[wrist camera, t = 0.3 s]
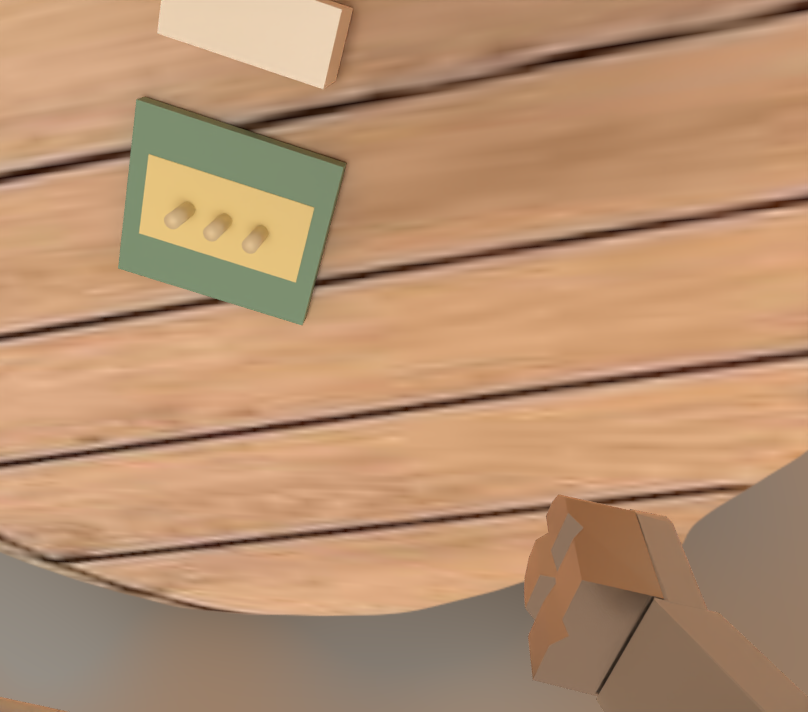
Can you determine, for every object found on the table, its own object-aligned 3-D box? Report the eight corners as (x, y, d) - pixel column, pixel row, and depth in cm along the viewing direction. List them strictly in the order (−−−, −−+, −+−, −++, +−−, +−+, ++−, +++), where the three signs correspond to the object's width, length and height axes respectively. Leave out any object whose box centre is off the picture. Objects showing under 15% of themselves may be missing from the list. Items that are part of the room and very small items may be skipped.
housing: (195, -47, 47) (167, -51, 42) (353, 8, 48) (342, 9, 43) (184, 30, 49) (157, 33, 45) (335, 81, 50) (323, 89, 46)
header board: (144, 96, 52) (115, 106, 47) (346, 163, 53) (335, 178, 48) (126, 262, 58) (98, 283, 54) (305, 318, 59) (293, 343, 55)
